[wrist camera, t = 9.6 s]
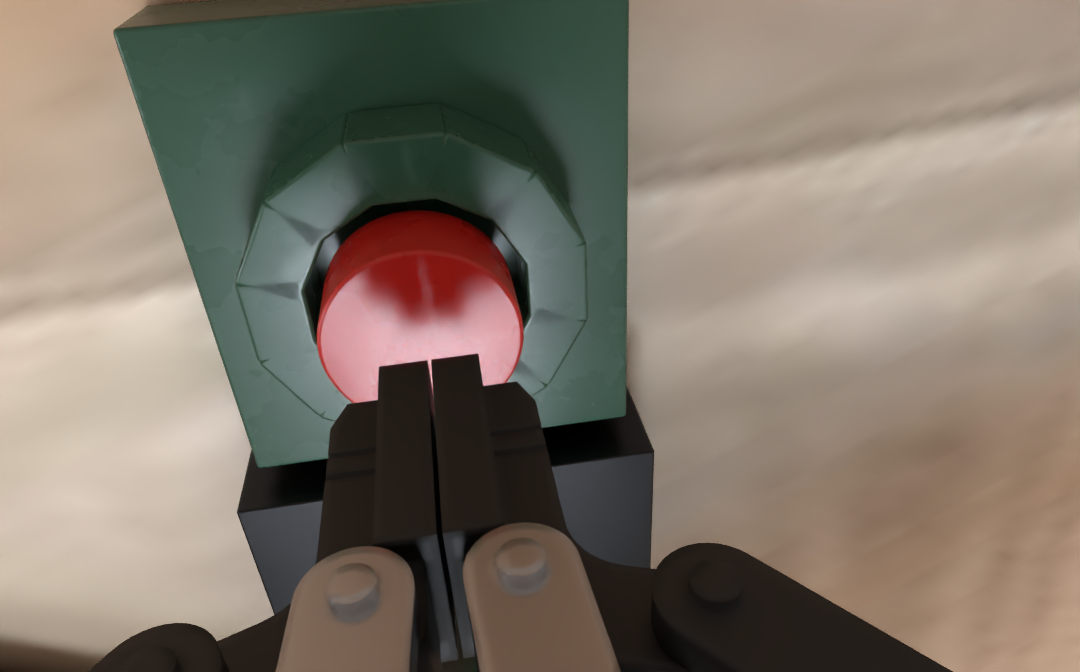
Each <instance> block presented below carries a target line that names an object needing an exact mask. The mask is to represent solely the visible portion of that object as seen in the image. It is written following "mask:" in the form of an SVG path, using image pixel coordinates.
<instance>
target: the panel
mask: <svg viewBox="0 0 1080 672" xmlns="http://www.w3.org/2000/svg"><path fill="white" fill-rule="evenodd" d="M542 430H543V434H544V438H545V442H546V448H547V450H548V454H549V458H550V462H551V467H552V471H553V475H554V479H555V483H556V487H557V491H558V495H559V499H560V504H561V508H562V512H563V516H564V520H565V523H566V526H567V529H568V531H569V533H570V534H571V536H572V538H573V539H574V540H575V541H576V542H577V544H579V545H580V546H581V547H582V548H583V549H584V550H586V551H587V552H589V553H590V554H592V555H594V556H596V557H598V558H600V559H602V560H605V561H608V562H611V563H615V564H620V565H626V566H634V567H642V568H650V562H651V531H652V500H653V469H654V450H653V448H652V445H651V443H650V440H649V438H648V436H647V433H646V431H645V428H644V426H643V424H642V421H641V419H640V416H639V414H638V412H637V409H636V407H635V404H634V402H633V400H632V397H631V395H630V392H629V390H628V388H627V385H626V415H625V416H624V417H618V418H611V419H604V420H597V421H590V422H583V423H576V424H569V425H562V426H555V427H548V428H542ZM326 467H327V459H322V460H315V461H308V462H301V463H294V464H287V465H280V466H273V467H266V468H259V467H258V466H257V463H256V460H255V457H254V454H253V451H252V450H251V454H250V459H249V463H248V467H247V472H246V476H245V480H244V484H243V489H242V493H241V497H240V502H239V506H238V510H237V514H238V517H239V519H240V522H241V525H242V527H243V530H244V533H245V536H246V538H247V541H248V544H249V546H250V549H251V552H252V555H253V557H254V560H255V563H256V565H257V568H258V571H259V574H260V576H261V579H262V582H263V584H264V587H265V590H266V593H267V595H268V598H269V601H270V603H271V606H272V609H273V612H274V614H277V613H279V612H280V611H282V610H283V609H284V608H285V607H287V606H288V605H289V604H290V603H291V602H292V598H293V595H294V592H295V589H296V587H297V586H298V584H299V582H300V580H301V579H302V578H303V577H304V575H305V574H306V573H307V572H308V571H309V570H310V569H311V568H312V567H313V566H314V565H315V564H316V559H317V550H318V541H319V532H320V522H321V513H322V504H323V495H324V485H325V481H326Z"/></svg>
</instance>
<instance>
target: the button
mask: <svg viewBox="0 0 1080 672" xmlns="http://www.w3.org/2000/svg"><path fill="white" fill-rule="evenodd" d="M523 340H524V328H523V321H522V316H521V312H520V308H519V304H518V301H517V297H516V293H515V289H514V285H513V281H512V278H511V274H510V271H509V268H508V265H507V263H506V261H505V259H504V256H503V255H502V253H501V252H500V250H499V249H498V247H497V246H496V245H495V244H494V242H493V241H492V240H491V239H490V238H489V237H488V236H487V235H486V234H484V233H483V232H482V231H481V230H480V229H478V228H476V227H475V226H473V225H472V224H470V223H468V222H466V221H464V220H462V219H460V218H458V217H455V216H451V215H448V214H445V213H440V212H435V211H424V210H413V211H403V212H397V213H392V214H389V215H386V216H382V217H380V218H377V219H375V220H373V221H371V222H369V223H367V224H365V225H364V226H362V227H361V228H359V229H358V230H356V231H355V232H354V233H353V234H351V235H350V236H349V237H348V238H347V239H346V240H345V241H344V242H343V243H342V244H341V246H340V247H339V248H338V250H337V251H336V253H335V254H334V256H333V258H332V260H331V262H330V264H329V266H328V269H327V273H326V276H325V282H324V288H323V295H322V301H321V307H320V314H319V320H318V327H317V348H318V354H319V357H320V360H321V363H322V366H323V368H324V370H325V372H326V374H327V376H328V377H329V379H330V380H331V382H332V383H333V384H334V386H335V387H336V388H337V389H338V390H339V391H340V392H341V393H342V394H343V396H345V397H346V398H347V399H348V400H350V401H351V402H352V403H359V402H367V401H374V400H378V373H379V367H380V366H386V365H394V364H402V363H410V362H417V361H425V360H427V361H428V365H429V370H430V377H431V383H432V389H433V382H432V367H431V360H432V359H439V358H447V357H455V356H463V355H471V354H478V355H479V361H480V368H481V374H482V381H483V386H486V385H494V384H501V383H507V381H508V380H509V378H510V377H511V375H512V374H513V372H514V370H515V368H516V366H517V364H518V362H519V358H520V355H521V352H522V347H523Z"/></svg>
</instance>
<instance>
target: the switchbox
mask: <svg viewBox="0 0 1080 672" xmlns="http://www.w3.org/2000/svg"><path fill="white" fill-rule="evenodd" d="M113 34H114V37H115V40H116V43H117V46H118V49H119V52H120V55H121V58H122V61H123V64H124V67H125V70H126V73H127V76H128V79H129V82H130V85H131V88H132V91H133V94H134V97H135V100H136V103H137V106H138V109H139V112H140V115H141V118H142V121H143V124H144V127H145V130H146V133H147V136H148V139H149V142H150V145H151V148H152V151H153V154H154V157H155V160H156V163H157V166H158V169H159V172H160V175H161V178H162V181H163V184H164V187H165V190H166V193H167V196H168V199H169V202H170V205H171V208H172V211H173V214H174V217H175V220H176V223H177V226H178V229H179V232H180V235H181V238H182V241H183V244H184V247H185V250H186V253H187V256H188V259H189V262H190V265H191V268H192V271H193V274H194V277H195V280H196V283H197V286H198V289H199V292H200V295H201V298H202V301H203V304H204V307H205V310H206V313H207V316H208V319H209V322H210V325H211V328H212V331H213V334H214V337H215V340H216V343H217V346H218V349H219V352H220V355H221V358H222V361H223V364H224V367H225V370H226V373H227V376H228V379H229V382H230V385H231V388H232V391H233V394H234V397H235V400H236V403H237V406H238V409H239V412H240V415H241V418H242V421H243V424H244V427H245V430H246V433H247V436H248V439H249V442H250V445H251V448H252V451H253V454H254V457H255V460H256V463H257V466H258V467H259V468H266V467H273V466H280V465H287V464H294V463H301V462H308V461H315V460H322V459H328V449H329V439H330V430H331V427H332V426H333V424H334V423H335V421H336V420H337V418H338V417H339V416H340V414H341V413H342V411H343V410H344V408H345V407H346V405H347V404H351V403H352V402H351V401H350V400H348V399H347V398H346V397H345V396H343V394H342V393H341V392H340V391H339V390H338V389H337V388H336V387H335V386H334V384H333V383H332V382H331V380H330V379H329V377H328V376H327V374H326V372H325V370H324V368H323V366H322V363H321V360H320V357H319V354H318V348H317V327H318V320H319V314H320V307H321V301H322V295H323V288H324V282H325V276H326V273H327V269H328V266H329V264H330V262H331V260H332V258H333V256H334V254H335V253H336V251H337V250H338V248H339V247H340V246H341V244H342V243H343V242H344V241H345V240H346V239H347V238H348V237H349V236H350V235H351V234H353V233H354V232H355V231H356V230H358V229H359V228H361V227H362V226H364V225H365V224H367V223H369V222H371V221H373V220H375V219H377V218H380V217H382V216H386V215H389V214H392V213H397V212H403V211H413V210H424V211H435V212H440V213H445V214H448V215H451V216H455V217H458V218H460V219H462V220H464V221H466V222H468V223H470V224H472V225H473V226H475V227H476V228H478V229H480V230H481V231H482V232H483V233H484V234H486V235H487V236H488V237H489V238H490V239H491V240H492V241H493V242H494V244H495V245H496V246H497V247H498V249H499V250H500V252H501V253H502V255H503V256H504V259H505V261H506V263H507V265H508V268H509V271H510V274H511V278H512V281H513V285H514V289H515V293H516V297H517V301H518V304H519V308H520V312H521V316H522V321H523V328H524V340H523V347H522V352H521V355H520V358H519V362H518V364H517V366H516V368H515V370H514V372H513V374H512V375H511V377H510V378H509V380H508V381H507V383H509V382H516V381H517V382H518V383H519V384H520V385H521V386H522V387H523V388H524V389H525V390H526V391H527V392H528V393H529V394H530V395H531V396H532V397H533V399H534V400H535V401H536V405H537V409H538V413H539V417H540V421H541V427H542V428H548V427H555V426H562V425H569V424H576V423H583V422H590V421H597V420H604V419H611V418H618V417H624V416H625V415H626V353H627V200H628V47H629V0H213V1H201V2H189V3H177V4H165V5H153V6H147V7H145V8H144V9H142V10H141V11H140V12H138V13H137V14H135V15H134V16H133V17H131V18H130V19H128V20H127V21H126V22H124V23H123V24H121V25H120V26H118V27H117V28H116V29H114V33H113Z"/></svg>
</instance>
